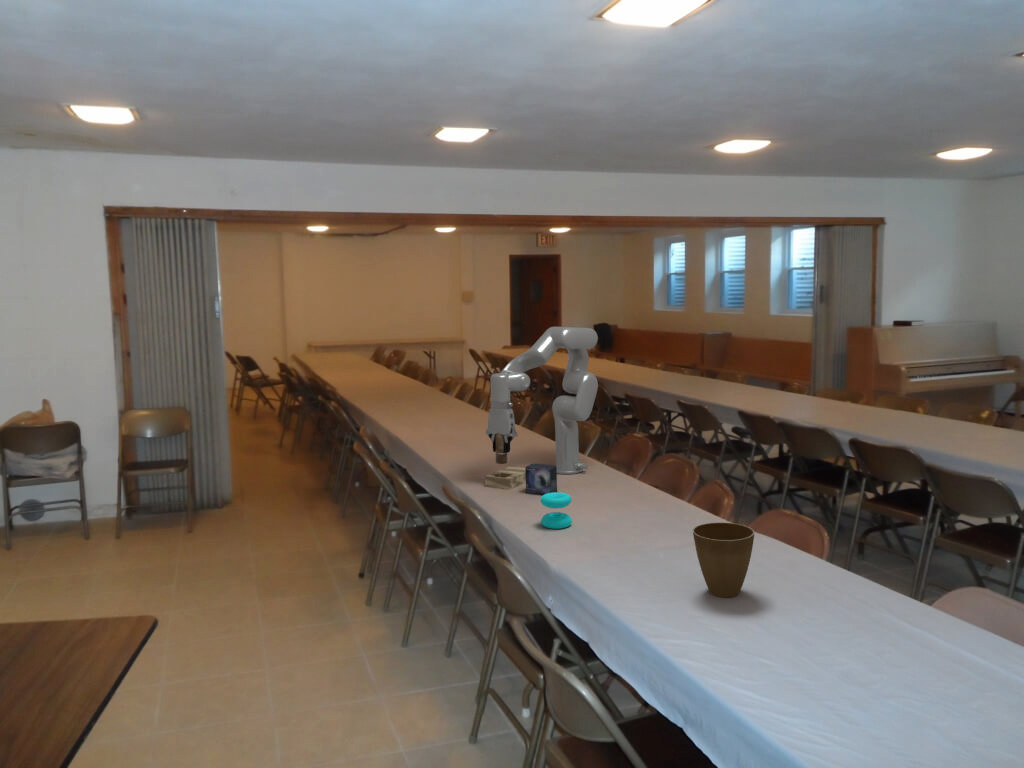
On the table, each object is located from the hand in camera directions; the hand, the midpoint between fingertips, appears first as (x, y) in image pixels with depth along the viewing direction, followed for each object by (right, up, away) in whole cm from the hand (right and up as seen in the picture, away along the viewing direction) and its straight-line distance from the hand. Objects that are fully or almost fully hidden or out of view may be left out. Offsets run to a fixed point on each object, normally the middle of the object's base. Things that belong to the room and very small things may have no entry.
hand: (501, 451), depth 313 cm
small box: (+15, -15, -11) cm, 24 cm away
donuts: (+19, -20, -51) cm, 58 cm away
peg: (0, -4, 0) cm, 5 cm away
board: (+4, -13, +7) cm, 15 cm away
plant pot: (+57, -26, -110) cm, 127 cm away
